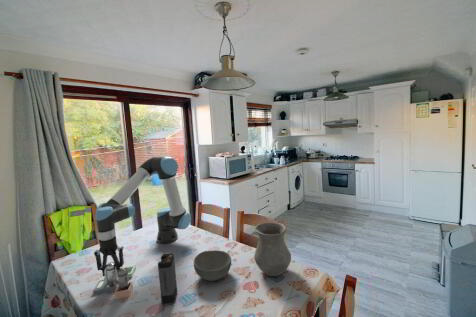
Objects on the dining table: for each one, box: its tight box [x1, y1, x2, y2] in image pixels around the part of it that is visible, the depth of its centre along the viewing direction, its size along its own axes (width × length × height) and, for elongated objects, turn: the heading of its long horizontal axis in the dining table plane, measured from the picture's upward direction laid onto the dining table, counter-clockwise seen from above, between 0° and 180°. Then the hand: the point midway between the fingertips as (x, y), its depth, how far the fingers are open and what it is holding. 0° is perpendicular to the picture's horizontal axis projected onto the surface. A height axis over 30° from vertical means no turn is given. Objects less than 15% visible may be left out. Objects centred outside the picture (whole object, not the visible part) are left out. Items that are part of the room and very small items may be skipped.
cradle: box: [92, 279, 119, 295], centre depth 116 cm, size 12×8×3 cm
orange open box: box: [114, 281, 134, 300], centre depth 110 cm, size 6×6×4 cm
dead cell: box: [118, 267, 130, 291], centre depth 110 cm, size 4×4×13 cm
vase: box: [254, 221, 292, 277], centre depth 120 cm, size 20×19×25 cm
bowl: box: [193, 249, 232, 282], centre depth 121 cm, size 20×20×10 cm
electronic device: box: [157, 252, 178, 306], centre depth 105 cm, size 9×6×20 cm, turn 5°
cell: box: [106, 261, 119, 287], centre depth 116 cm, size 4×4×13 cm
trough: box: [103, 265, 137, 280], centre depth 125 cm, size 14×8×3 cm, turn 101°
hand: (112, 280), depth 116 cm, fingers closed on cell, 4 cm apart
